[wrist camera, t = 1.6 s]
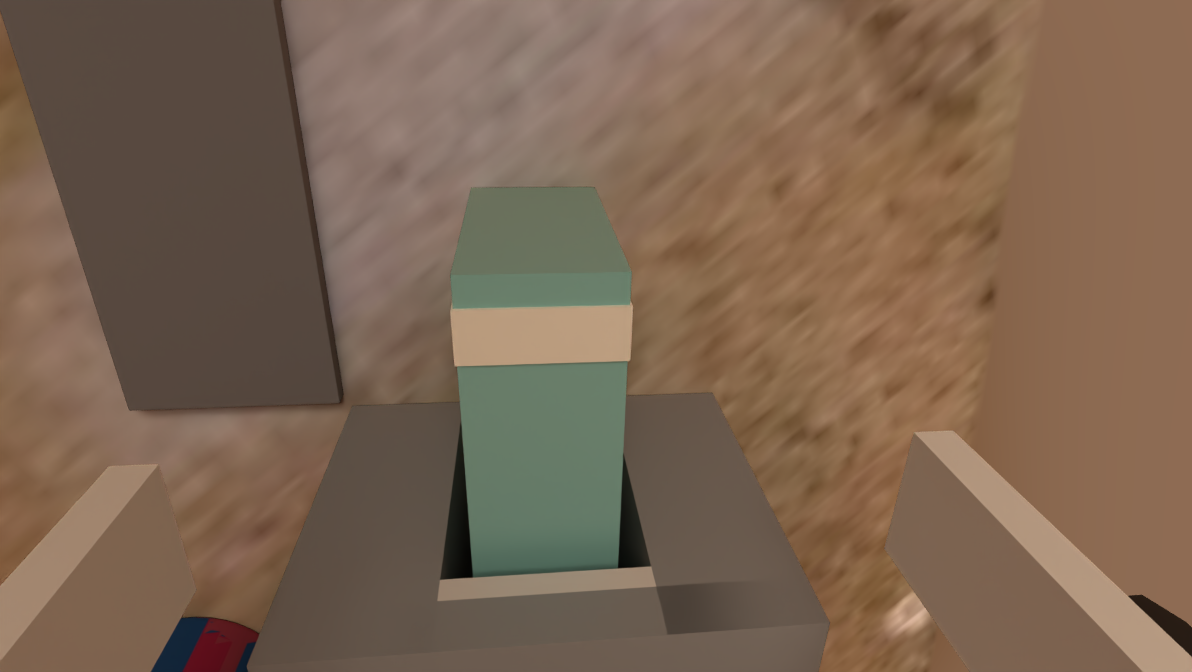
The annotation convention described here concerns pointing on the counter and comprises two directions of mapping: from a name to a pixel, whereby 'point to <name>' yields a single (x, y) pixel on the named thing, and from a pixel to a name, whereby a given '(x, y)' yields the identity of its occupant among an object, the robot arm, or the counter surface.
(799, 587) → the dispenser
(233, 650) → the mug
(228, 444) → the counter surface
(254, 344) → the pad
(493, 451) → the banded gift box
